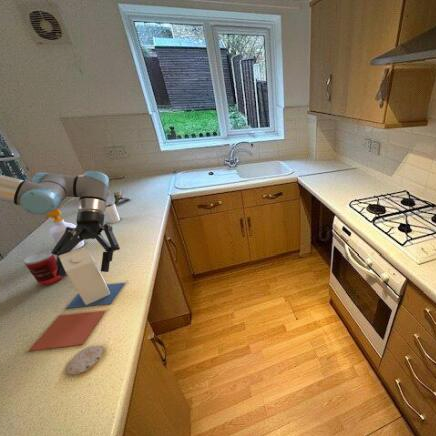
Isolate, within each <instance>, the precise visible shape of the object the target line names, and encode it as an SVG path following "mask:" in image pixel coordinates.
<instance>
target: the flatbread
mask: <svg viewBox="0 0 436 436" xmlns="http://www.w3.org/2000/svg"><path fill="white" fill-rule="evenodd" d="M103 352H104V346H103V345H95V344H94V345H89V346H87V347H85V348H83V349H81V350H80V351H78V352H77V353H76V354H75V355H74V356H73V357H72V358H70V360H69V361H68V362H67V364H66V366H65V372H66V373H67V374H69V375H73V376H76V375H79V374H83V373H85V372H87V371H89V370H90V369H91V368H92V367H93V366H95V365H96V364H97V362H99V360H100V359H101V357H102V355H103Z"/></svg>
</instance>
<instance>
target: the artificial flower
mask: <svg viewBox="0 0 436 436" xmlns="http://www.w3.org/2000/svg"><path fill="white" fill-rule="evenodd" d="M113 197H114V200H115V201H114V203H115V205H117V204H118V203H120V200H121V201H124V200H125V201H129V200H130V198H128V197H123V192H122V191H120V190H118V191H116V192H113Z"/></svg>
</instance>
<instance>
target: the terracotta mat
mask: <svg viewBox="0 0 436 436" xmlns="http://www.w3.org/2000/svg"><path fill="white" fill-rule="evenodd" d="M105 313H106V310H97V311H88V312H80V313H71V314H61V315H58V316H57V318H56V319H55V320H54V321H53V322H52V323H51V324H50V325H49V327H48V328H46V330H45V331H44V332H43V333H42V334H41V336H40V337H39V338H38V339H37V340H36V341H35V342H34V344H33V345H32V346H31V347H30V348H29V349H28V352H37V351H45V350H53V349H62V348H69V347H78V346H83V345H84V343H85V342H86V341H87V339H88V338H89V336H90V335H91V333H92V332H93V330H94V329H95V328H96V326H97V325H98V324H99V322H100V321H101V320H102V318H103V316H104V315H105Z"/></svg>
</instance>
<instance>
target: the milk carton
mask: <svg viewBox="0 0 436 436" xmlns="http://www.w3.org/2000/svg"><path fill="white" fill-rule="evenodd" d="M58 257H59V258H60V260H61V263H62V265H63V267H64V269H65V272H66V276H67V277H68V278H69V280H70V282H71V283H72V285H73V287H74V288H75V290H76V292H77V294H79V295H80V296H81V298H82V300H83V301H84V303H85V305H88V304H90V303H92V302H94V301H97V300H99V299H101V298H103V297H105V296H108V295H110V291H109V289H108V287H107V285H108V284H107V283H106V281H105V278H104V276H103V275H102V272H101V270H100V269H99V267H98V264H97V263H96V260H95V259H94V257H93V255H92V253H91V252H90V250H89V248H88V247H87V246H82V247H81V248H79V249H77V250H74V251H70V252H68V253H65V254H62V255H59V256H58Z"/></svg>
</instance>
